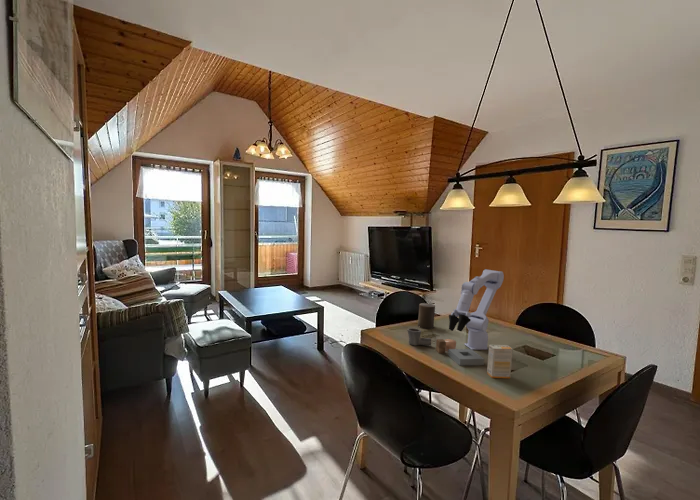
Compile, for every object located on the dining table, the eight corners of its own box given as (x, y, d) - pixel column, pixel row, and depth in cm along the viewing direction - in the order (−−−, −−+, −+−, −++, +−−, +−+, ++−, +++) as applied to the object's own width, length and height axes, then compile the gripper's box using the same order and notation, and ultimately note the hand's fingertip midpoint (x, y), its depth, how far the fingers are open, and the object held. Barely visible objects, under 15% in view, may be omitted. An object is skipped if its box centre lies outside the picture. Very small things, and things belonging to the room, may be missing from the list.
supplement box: (504, 373, 147) (507, 344, 146) (510, 379, 142) (513, 348, 141) (486, 373, 146) (488, 343, 145) (491, 378, 142) (493, 348, 141)
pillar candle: (428, 329, 203) (430, 305, 202) (414, 325, 210) (416, 302, 209) (436, 327, 210) (438, 303, 209) (422, 323, 217) (424, 300, 216)
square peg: (442, 350, 170) (443, 339, 170) (445, 353, 167) (446, 341, 166) (435, 350, 170) (436, 339, 169) (438, 353, 166) (439, 341, 166)
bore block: (470, 354, 167) (470, 348, 167) (483, 365, 155) (484, 358, 155) (447, 355, 165) (448, 349, 164) (459, 365, 153) (460, 359, 153)
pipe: (431, 348, 172) (432, 333, 172) (405, 345, 175) (406, 330, 174) (430, 344, 178) (431, 329, 178) (406, 341, 181) (407, 327, 180)
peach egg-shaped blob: (452, 348, 175) (453, 338, 174) (457, 352, 169) (458, 342, 169) (442, 348, 174) (442, 339, 173) (447, 352, 168) (447, 342, 168)
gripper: (449, 301, 172) (440, 326, 169) (465, 300, 158) (455, 327, 155) (461, 307, 173) (452, 332, 169) (477, 306, 159) (468, 333, 156)
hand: (454, 330), depth 162 cm, fingers open, 7 cm apart
